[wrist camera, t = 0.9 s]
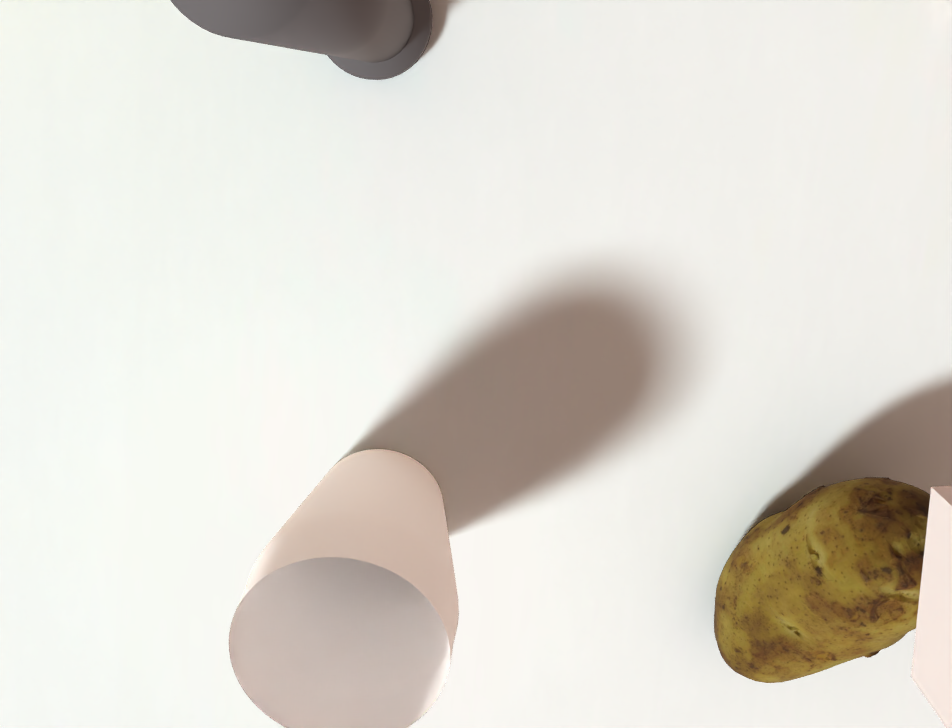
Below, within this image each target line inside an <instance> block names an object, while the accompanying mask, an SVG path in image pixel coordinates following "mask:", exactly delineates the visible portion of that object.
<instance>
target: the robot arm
mask: <svg viewBox="0 0 952 728" xmlns="http://www.w3.org/2000/svg"><path fill="white" fill-rule="evenodd" d="M911 678H912V679H913V681H914V682H915V684H916V685H917V687H918V688H919V689H920V691H921V692H922V694H923V695H924V697H925V698H926V700H927V701H928V702H929V704H930V705H931V707H932V708H933V710H934V711H935V713H936V714H937V715H938V717H939V718H940V720H941V721H942V723H943V724H944V726H945V727H946V728H952V486H937V487H931V493H930V502H929V512H928V521H927V530H926V540H925V549H924V558H923V567H922V577H921V586H920V595H919V605H918V614H917V623H916V632H915V642H914V651H913V660H912V670H911Z"/></svg>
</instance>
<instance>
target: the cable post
mask: <svg viewBox="0 0 952 728" xmlns="http://www.w3.org/2000/svg"><path fill="white" fill-rule="evenodd" d="M171 2H172V3H173V4H174V5H175V6H176V7H177V8H178V10H179V11H180V12H181V13H182V14H184V15H185V16H186V17H187V18H188V19H189V20H191V21H192V22H194V23H195V24H197V25H198V26H200V27H201V28H203V29H205V30H207V31H209V32H211V33H214V34H217V35H220V36H224V37H229V38H234V39H240V40H246V41H251V42H257V43H263V44H268V45H274V46H280V47H285V48H291V49H297V50H302V51H308V52H314V53H319V54H325V55H328V57H329V58H330V59H331V60H332V61H333V62H334V63H335V64H336V65H337V66H338V67H339V68H341V69H342V70H344V71H345V72H347V73H349V74H351V75H353V76H356V77H359V78H364V79H373V80H381V79H388V78H392V77H395V76H397V75H400V74H401V73H403V72H405V71H406V70H408V69H409V68H410V67H412V66H413V65H414V64H415V63H416V62H417V61H418V59H419V58H420V57H421V55H422V54H423V52H424V50H425V48H426V46H427V44H428V41H429V38H430V34H431V28H432V12H431V6H430V1H429V0H171Z"/></svg>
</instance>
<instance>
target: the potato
mask: <svg viewBox="0 0 952 728" xmlns="http://www.w3.org/2000/svg"><path fill="white" fill-rule="evenodd" d="M929 502H930V495H929V494H928V493H926V492H925V491H923V490H921V489H919V488H916V487H914V486H911V485H908V484H905V483H902V482H897V481H893V480H891V479H889V478H876V477H867V478H863V479H855V480H848V481H844V482H840V483H836V484H832V485H830V486H827V487H825V486H821V487H818V488H817V489H815V490H813V491H812V492H810V493H809V494H807V495H804V498H802V499H801V500H799V501H798V502H796V503H795V504H793V505H792V506H791V507H790V508H789V509H787V510H786V511H783V512H780V513H777V514H774V515H771V516H770V517H768V518H766V519H764V520H762V521H761V522H760V523H758V524H757V525H756V526H755V527H753V528H752V529H751V530H750V531H749V532H748V533H747V535H746V536H745V537H744V538H743V539H742V540H741V542H740V543H739V544H738V545H737V547H736V548H735V549H734V551H733V552H732V554H731V555H730V557H729V559H728V560H727V562H726V564H725V566H724V568H723V570H722V573H721V575H720V578H719V581H718V585H717V588H716V597H715V614H714V632H715V637H716V641H717V644H718V648H719V651H720V653H721V656H722V657H723V659H724V660H725V662H726V663H727V664H728V665H729V666H730V667H731V668H732V669H733V670H734V671H735V672H737V673H739V674H741V675H742V676H745V677H747V678H749V679H752V680H754V681H759V682H765V683H775V682H784V681H789V680H793V679H797V678H800V677H804V676H807V675H811V674H814V673H817V672H820V671H823V670H826V669H828V668H831V667H833V666H836V665H838V664H841V663H844V662H847V661H850V660H852V659H856V658H859V657H862V656H865V657H867V658H868V657H871V656H873V655H876V654H877V653H878V652H879V651H880V650H881V649H884V648H887V647H889V646H891V645H893V644H894V643H896V642H897V641H899V640H900V639H901V638H902V637H904V636H905V634H906V633H907V632H909V631H911V630H913V629H915V628H916V623H917V614H918V605H919V595H920V586H921V577H922V567H923V558H924V549H925V540H926V530H927V521H928V512H929Z"/></svg>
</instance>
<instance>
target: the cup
mask: <svg viewBox="0 0 952 728" xmlns="http://www.w3.org/2000/svg"><path fill="white" fill-rule="evenodd" d="M458 616H459V611H458V595H457V588H456V581H455V574H454V567H453V561H452V554H451V548H450V542H449V535H448V529H447V522H446V516H445V509H444V503H443V497H442V493H441V490H440V488H439V486H438V484H437V482H436V480H435V478H434V477H433V476H432V474H431V473H430V472H429V471H428V470H427V469H426V468H425V467H424V466H423V465H422V464H421V463H419V462H418V461H416V460H415V459H413V458H411V457H409V456H407V455H405V454H402V453H400V452H396V451H392V450H386V449H370V450H364V451H359V452H356V453H353V454H351V455H349V456H347V457H345V458H343V459H342V460H340V461H339V462H338V463H336V464H335V465H334V466H333V467H332V468H331V469H330V470H329V472H328V473H327V474H326V475H325V476H324V478H323V479H322V480H321V481H320V482H319V483H318V485H317V486H316V487H315V488H314V489H313V491H312V492H311V493H310V494H309V495H308V497H307V498H306V499H305V500H304V501H303V502H302V504H301V505H300V506H299V507H298V508H297V510H296V511H295V512H294V513H293V514H292V516H291V517H290V518H289V519H288V520H287V521H286V523H285V524H284V525H283V526H282V527H281V529H280V530H279V531H278V532H277V533H276V535H275V536H274V537H273V538H272V540H271V541H270V542H269V543H268V544H267V546H266V547H265V548H264V549H263V551H262V552H261V554H260V555H259V557H258V559H257V560H256V562H255V564H254V566H253V568H252V570H251V572H250V575H249V578H248V581H247V584H246V587H245V589H244V592H243V594H242V597H241V600H240V602H239V604H238V607H237V609H236V612H235V614H234V617H233V620H232V623H231V628H230V634H229V652H230V659H231V663H232V667H233V670H234V672H235V675H236V677H237V679H238V681H239V683H240V685H241V687H242V688H243V690H244V691H245V693H246V694H247V695H248V697H249V698H250V699H251V700H252V701H253V703H254V704H255V705H256V706H257V707H258V708H259V709H260V710H262V711H263V712H264V713H265V714H266V715H267V716H269V717H270V718H272V719H273V720H274V721H276V722H278V723H279V724H281V725H282V726H284V727H286V728H407V727H409V726H410V725H412V724H413V723H415V722H416V721H417V720H419V719H420V718H421V717H422V716H423V715H425V714H426V713H427V711H428V710H429V709H430V708H431V707H432V706H433V705H434V703H435V702H436V701H437V699H438V698H439V696H440V694H441V693H442V690H443V688H444V686H445V684H446V680H447V677H448V673H449V668H450V662H451V655H452V649H453V643H454V639H455V635H456V630H457V625H458Z"/></svg>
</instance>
